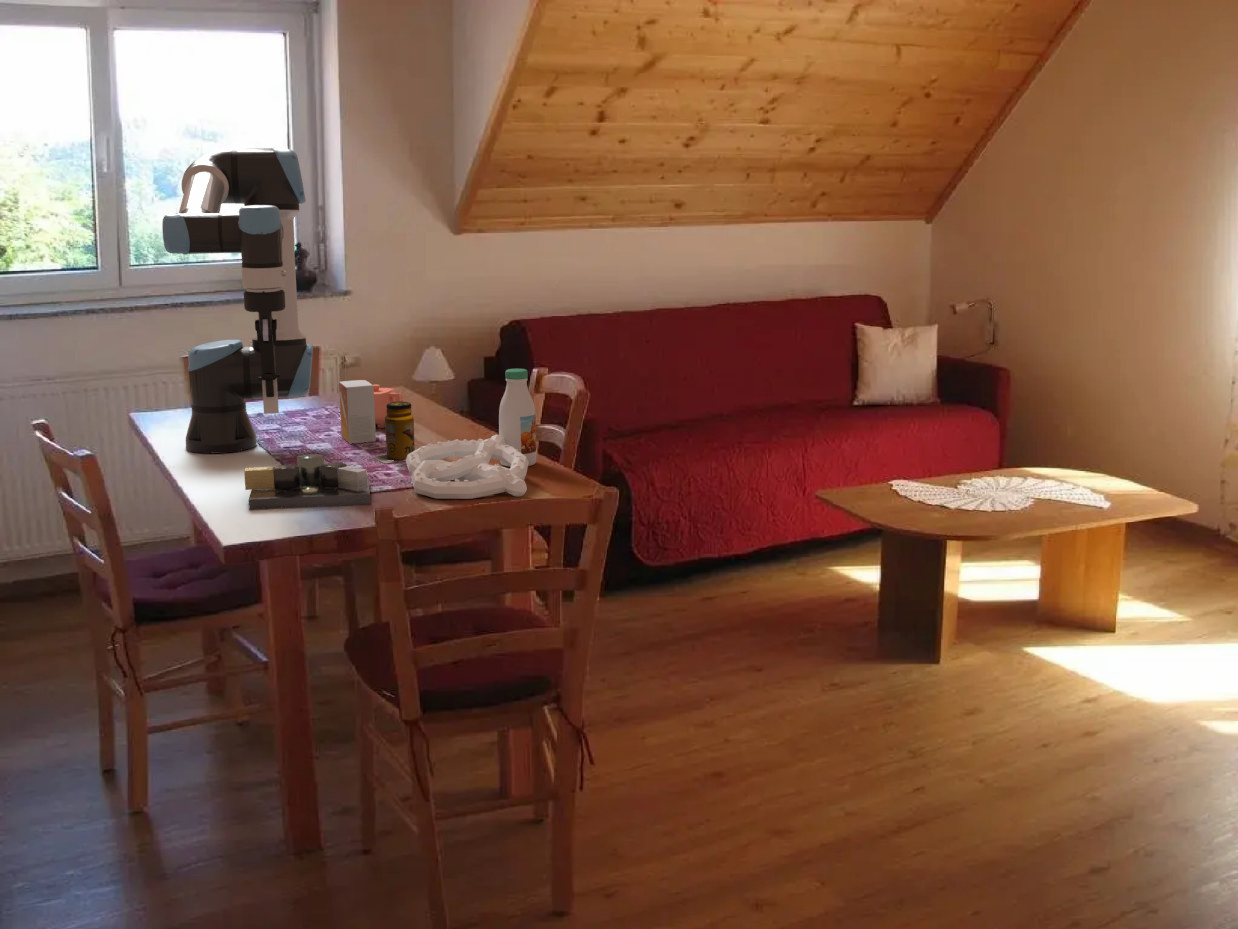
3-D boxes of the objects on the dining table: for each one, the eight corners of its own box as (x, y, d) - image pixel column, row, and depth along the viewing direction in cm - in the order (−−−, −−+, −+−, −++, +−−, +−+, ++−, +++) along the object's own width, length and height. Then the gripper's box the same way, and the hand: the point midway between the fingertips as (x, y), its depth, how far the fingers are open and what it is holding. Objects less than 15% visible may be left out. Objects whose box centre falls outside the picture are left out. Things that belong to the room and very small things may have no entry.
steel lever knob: (335, 480, 272) (334, 461, 271) (372, 487, 266) (371, 468, 265) (315, 485, 268) (314, 466, 267) (352, 492, 262) (352, 473, 261)
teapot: (344, 422, 338) (342, 383, 335) (392, 418, 343) (390, 379, 341) (358, 431, 328) (356, 390, 325) (407, 426, 333) (405, 386, 330)
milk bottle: (508, 469, 290) (506, 373, 285) (494, 462, 297) (492, 368, 292) (542, 465, 293) (541, 371, 289) (527, 458, 300) (526, 365, 295)
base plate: (254, 490, 273) (252, 455, 272) (369, 485, 277) (367, 450, 275) (249, 510, 259) (246, 473, 257) (370, 504, 263) (368, 468, 261)
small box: (341, 437, 321) (338, 381, 318) (368, 435, 324) (366, 379, 321) (348, 444, 314) (345, 386, 311) (376, 441, 316) (374, 384, 313)
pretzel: (542, 504, 268) (541, 473, 266) (418, 516, 263) (416, 484, 261) (517, 454, 294) (516, 425, 291) (403, 464, 289) (401, 435, 286)
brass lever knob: (246, 485, 268) (245, 466, 267) (300, 482, 269) (299, 464, 269) (244, 491, 263) (243, 472, 262) (299, 489, 265) (298, 470, 264)
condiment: (422, 459, 299) (420, 404, 297) (385, 464, 295) (383, 408, 292) (407, 453, 305) (405, 398, 303) (371, 457, 301) (369, 402, 298)
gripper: (283, 292, 257) (291, 418, 263) (285, 284, 269) (291, 404, 275) (241, 294, 256) (249, 420, 261) (244, 285, 268) (252, 406, 274)
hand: (271, 412), depth 268 cm, fingers closed
